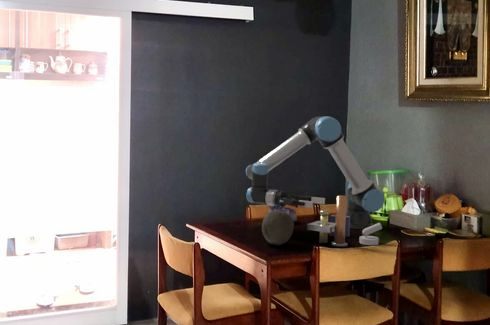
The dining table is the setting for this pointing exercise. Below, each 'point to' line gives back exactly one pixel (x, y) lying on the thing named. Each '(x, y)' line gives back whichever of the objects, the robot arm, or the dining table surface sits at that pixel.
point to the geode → (284, 209)
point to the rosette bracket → (334, 227)
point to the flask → (347, 225)
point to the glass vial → (324, 222)
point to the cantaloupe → (277, 227)
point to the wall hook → (370, 239)
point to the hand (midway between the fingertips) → (318, 203)
